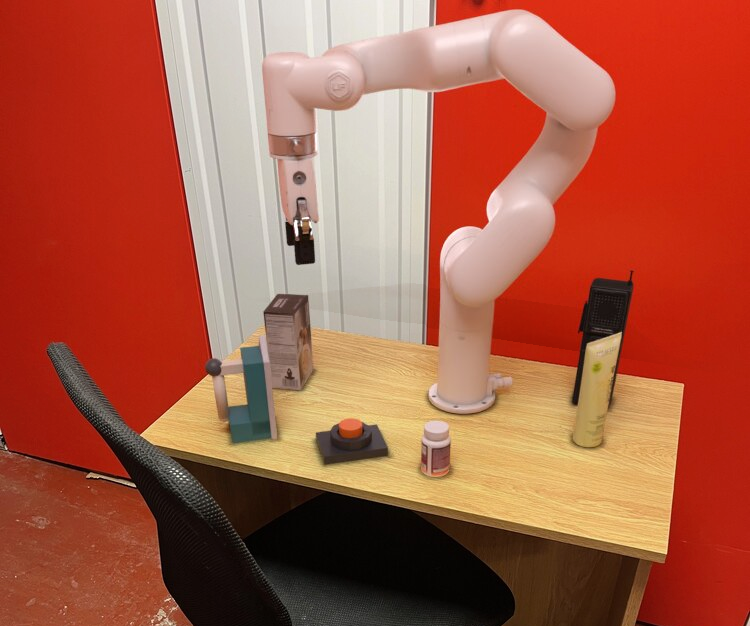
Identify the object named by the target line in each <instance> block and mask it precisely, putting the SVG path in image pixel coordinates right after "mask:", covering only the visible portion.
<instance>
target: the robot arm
mask: <svg viewBox="0 0 750 626" xmlns="http://www.w3.org/2000/svg"><path fill="white" fill-rule="evenodd" d="M261 68H262V69H261V72H262V84H263V95H264V106H265V107H264V108H265V116H266V130H267V141H268V151H269V157H270V158H273V159H275V160H277V162H276V163H277V174H278V186H279V194H280V203H281V206H282V207H281V209H282V212H283V215H284V217H285V221H284V226H285V238H286V245H287V246H288V247H292V246H293V248H294V249H293V250H294V262H295V264H296V265H297V266H302V265H303V266H304V265H313V264H315V263H316V251H315V250H316V249H315V238H314V231H313V227H312V223H314V224H318V222H319V221H320V216H319V205H318V195H317V194H318V193H317V183H316V182H317V181H316V174H315V166H314V160H313V158H315V157H317V155H318V154H319V152H318V134H317V133H318V132H317V114H316V113H317V112H316V109H317V110H324V111H331V112H345V111H349V110H351V109H353V108H354V107H356V106H357V105H358V104H359V103H360V101H361V100H362V98H363V96H365V95H369V94H375V93H380V92H385V91H392V90H407V89H408V90H416V91H420V92H425V93H440V92H445V91H446V92H447V91H450V90H455V89H459V88H464V87H469V86H473V85H478V84H483V83H489V82H494V81H499V80H504V79H505V80H506V81H507V82H508V83H509V84H510V85H511V86H512V87H514V88H515V90H517V91H518V92H520V93H521V94H522V95H523V96H525V98H527V99H528V100H530V101H531V102H532V103H533V104H535V105H536V106H538V107H539V108H540V109H542V110H543V111H544V112H546V116H545V121H544V124H543V127H542V130H541V132H540V134H539V135H538V138H537V139H536V141H535V142H534V143H533V145H532V146H531V147H530V148H529V149H528V151H527V153H526V154H525V155H524V156H523V157H522V159H521V160H519V162H518V163H517V164H516V165H515V166H514V167H513V168H512V170H511V171H510V172H509V174H507V176H505V178H504V179H503V180H502V181H501V183H499V185H497V187H495V189H494V190H493V191H492V193H491V194H490V196H489V198H488V200H487V204H486V216H487V219H488V223H487V224H486V225H485V226H484V227H483V229H482V228H480V227H476V226H463V227H460V228H458V229H456V230H454V231H453V232H452V233H451V234H449V236H448V237H447V238H446V240H445V241H444V243H443V244H442V245H443V246H442V247H441V251H440V256H439V257H440V258H439V259H440V260H439V278H440V282H439V285H440V286H439V288H440V291H439V293H440V298H439V299H440V301H439V325H438V326H439V327H438V328H439V329H438V350H437V357H438V358H437V375H436V377H437V378H436V382H435V383H433V384H432V385H431V386H430V387H429V389H428V400H429V401H430V403H431V404H432V405H433V407H435V408H437V409H439V410H440V411H444V412H446V413H447V412H448V413H452V414H459V415H468V414H475V413H480V412H482V411H485V410H488V409H489V408H490V407H492V406H493V404H495V401H496V391H497V390H498V389H505V388H512V387H513V385H514V384H513V383H514V380H513V378H512V376H505V377H503V376H502V373H501V372H497V373H492V374H490V362H491V353H492V352H491V351H492V339H493V328H494V327H493V325H494V316H495V301H496V299H498V298H499V297H500V296H501V295H503V293H504V292H505V291H507V290H508V288H509V287H510V286H511V285H512V284H513V283H514V282H515V281H516V280H517V279H518V278H519V276H521V274H522V273H524V271H525V270H526V269H527V268H528V267H529V266H530V265H531V264H532V263H533V262H534V260H536V258H537V257H538V256H539V255H540V254H541V253H542V252H543V250H544V249H545V247H546V246H547V245H548V244H549V242H550V239H551V238H552V236H553V233H554V231H555V226H556V213H555V209H554V205H555V203H556V202H557V201H558V200H559V199H560V197H561V196H562V195H563V194H564V192H566V190H568V188H569V186H570V185H571V184H572V183H573V181H574V180H575V179H576V178H577V177H578V175H579V174H580V173H581V172H582V170H583V169H584V167H585V166H586V163H587V162H588V161H589V159H590V156H591V154H592V152H593V149H594V146H595V143H596V140H597V135H598V129H599V127H600V126H601V125H602V124H604V123H605V121H606V120H607V119H609V116H610V115H611V113H612V111H613V109H614V106H615V103H616V87H615V83H614V81H613V79H612V77H611V75H610V74H609V73H608V72H607V71H606V70H605V69H604V68H602V66H600V65H599V64H597V63H596V62H595V61H594V60H592V59H591V58H590V57H589V56H587V55H586V54H585V53H583V51H581V50H579V48H577V47H576V46H575V45H573V44H572V43H571V42H570V41H568V40H567V39H566V38H564V37H563V36H562V35H561V34H560V33H559V32H557V30H555V29H554V28H553V27H552V26H551V25H550V24H549V23H548V22H546V21H545V20H544V19H543V18H541V17H540V16H538V15H536V14H534V13H532V12H530V11H528V10H525V9H521V8H520V9H508V10H504V11H503V10H502V11H498V12H494V13H489V14H484V15H480V16H476V17H470V18H465V19H461V20H457V21H452V22H446V23H441V24H437V25H431V26H427V27H421V28H417V29H412V30H408V31H404V32H399V33H392V34H386V35H382V36H376V37H371V38H368V39H367V38H366V39H361V40H357V41H353V42H347V43H343V44H339V45H335V46H332V47H331V48H329V49H327V50H326V51H325V52H324V53H323V54H322V55H321V56H314V57H313V56H312V57H310V56H309V55H308V54H306V53H303V52H297V51H296V52H295V51H284V52H283V51H281V52H274V53H270V54H268V55H266V56H265V57H264V58H263V60H262V64H261Z"/></svg>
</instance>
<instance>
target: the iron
mask: <svg viewBox="0 0 750 626" xmlns="http://www.w3.org/2000/svg"><path fill="white" fill-rule="evenodd" d="M239 350H240V358H235V359H225V360H220V359H218V358H216V357H215V358H214V357H213V358H210V359H208V360H207V361H206V363H205V365H204V368H205V369H204V370H205V372H206V374H207V375H208V376H210V377H211V380H212V387H213V392H214V399H215V405H216V411H217V418H218V420H219V421H220V422H221V423H222V422H223V423H226V422H228V424H229V428H230V434H231V435H230V436H231V441H232V444H239V443H247V442H254V441H262V440H270V439H271V440H272V441H273V440H278V431H277V421H276V409H275V402H274V401H275V399H274V392H273V391H274V390H273V388H272V380H271V371H270V362H269V356H268V350H267V341H266V334H260V335H258V345H251V346H243V347H240V348H239ZM238 374H243V383H244V390H245V397H246V404H239V405H231V406H229V400H228V394H227V387H226V386H227V385H226V380H225V379H226V378H225V376H229V375H238Z"/></svg>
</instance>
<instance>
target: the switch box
mask: <svg viewBox="0 0 750 626" xmlns="http://www.w3.org/2000/svg"><path fill="white" fill-rule="evenodd" d="M361 422H362V428H363V433H362V435H361V436H359V437H357V438H344V437H342V436H340V434H339V423H340V422H338V423H336V424H334V425H332V427H331V429H329V430H323V431H317V432H315V441H316V444H317V448H318V450H319V453H320V456H321V459H322V462H323V465H324V466H326V465H334V464H335V465H336V464H341V463H348V462H355V461H363V460H369V459H376V458H385V457H388V456H389V447H388V445H387V443H386V440H385V439H384V436H383V434H382V432H381V430H380V428H379V426H378V424H377V423H375V424H367V423H365V422H363V421H361Z"/></svg>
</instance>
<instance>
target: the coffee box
mask: <svg viewBox="0 0 750 626" xmlns="http://www.w3.org/2000/svg"><path fill="white" fill-rule="evenodd" d="M262 314H263V322H264V329H265V330H264V331H265V338H266V344H267V350H268V356H269V362H270V371H271V380H272V389H280V390H292V391H302V390H303V388H304V387H305V385H306V384H307V382H308V380H309V378H310V377H311V375H312V374H313V371H314V357H313V356H314V355H313V344H312V343H313V342H312V341H313V340H312V327H311V315H310V302H309V295H308V294H295V293H294V294H293V293H292V294H291V293H277V294H276V295H275V296H274V298H273V299H272V300H271V302H270V303H269V304H268V305H267V307H266V308H265V309H263V312H262Z"/></svg>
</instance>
